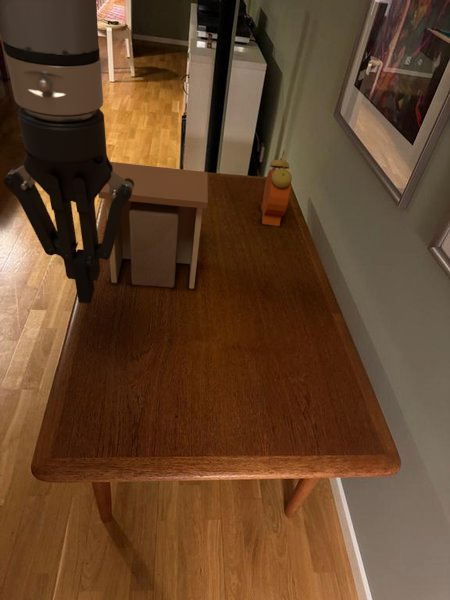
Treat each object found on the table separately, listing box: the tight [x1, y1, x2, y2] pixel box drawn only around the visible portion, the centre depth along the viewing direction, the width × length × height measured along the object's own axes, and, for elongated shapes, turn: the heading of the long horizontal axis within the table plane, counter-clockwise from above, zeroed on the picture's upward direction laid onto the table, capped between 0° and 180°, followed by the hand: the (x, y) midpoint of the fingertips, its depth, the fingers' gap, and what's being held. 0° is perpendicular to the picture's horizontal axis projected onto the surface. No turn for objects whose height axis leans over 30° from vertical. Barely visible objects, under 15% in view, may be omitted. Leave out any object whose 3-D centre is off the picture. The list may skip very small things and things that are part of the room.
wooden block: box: [129, 202, 180, 289], centre depth 92 cm, size 10×10×20 cm
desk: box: [98, 161, 209, 289], centre depth 90 cm, size 13×21×24 cm, turn 92°
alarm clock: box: [260, 150, 293, 227], centre depth 120 cm, size 13×6×20 cm, turn 179°
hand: (86, 295), depth 53 cm, fingers closed
